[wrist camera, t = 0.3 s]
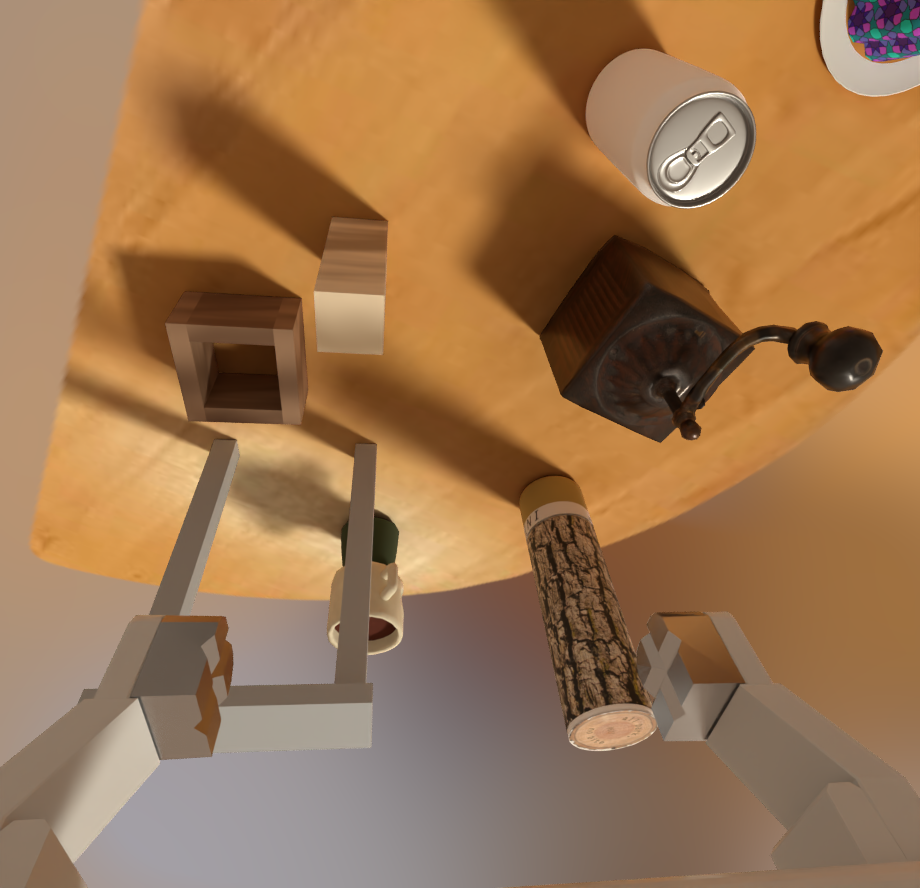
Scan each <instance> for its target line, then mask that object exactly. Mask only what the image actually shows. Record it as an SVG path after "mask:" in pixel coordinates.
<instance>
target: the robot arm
mask: <svg viewBox="0 0 920 888" xmlns="http://www.w3.org/2000/svg"><path fill="white" fill-rule="evenodd" d="M647 627H648V629H649V631H650V633H649V634H648V635H646V636H645V637H643V638H642V639H641V640H640V643H639V646H638V648H637V669H638V674H639V678H640V680H641V683H642V686H643V688H644V689H645V690H647V691H648V692H649V693H650V694H651V695H652V696H653V697H654V701H653V704H652V707H651V709H652V712H653V715H654V717H655V720H656V722H657V725H658V727H659V730H660V733H661V735H662V738H663V740H664V741H706V744H707V745H708V746H709V747H710V749H711V750H712V751H713V752H714V753H715V754H716V755H717V756H718V757H719V758H720V759H721V760H722V761H723V762H724V763H725V764H726V765H727V767H729V769H730V770H731V771H732V772H733V773H734V774H735V775H736V776H737V777H738V778H739V779H740V780H741V781H742V783H743V784H744V785H745V786H746V787H747V788H748V789H749V790H750V791H751V792H752V793H753V794H754V795H755V796H756V797H757V798H758V799H759V801H761V803H762V804H763V805H764V806H765V807H766V808H767V809H768V810H769V811H770V812H771V813H772V814H773V815H774V816H775V818H776V819H777V820H778V821H779V822H780V823H781V824H782V825H783V826H784V827H785V828H786V829H787V830H788V831H787V832H786V833H785V835H784V836H783V837H782V838H781V839H780V840H779V842H778V843H777V844H776V845H775V846H774V848H773V850H772V853H771V857H772V859H773V861H774V864H775V866H776V868H777V870H769V871H768V870H767V871H752V872H737V873H722V874H706V875H690V876H675V877H660V878H644V879H628V880H613V881H598V882H583V883H567V884H552V885H537V886H520V887H505V888H920V798H919V796H918V795H917V793H916V792H915V791H914V789H913V788H912V786H911V785H910V783H909V782H908V780H907V779H906V778H905V777H904V776H902V775H901V774H900V773H899V772H897V771H896V770H895V769H893V768H892V767H891V766H889V765H888V764H887V763H885V762H884V761H883V760H881V759H880V758H879V757H877V756H876V755H875V754H873V753H872V752H871V751H869V750H868V749H867V748H865V747H864V746H863V745H861V744H860V743H859V742H857V741H856V740H855V739H853V738H852V737H851V736H850V735H848V734H847V733H845V732H844V731H843V730H842V729H840V728H839V727H837V726H836V725H835V724H834V723H832V722H831V721H830V720H828V719H827V718H825V717H824V716H823V715H822V714H820V713H819V712H818V711H816V710H815V709H814V708H812V707H811V706H809V705H808V704H807V703H806V702H804V701H803V700H802V699H800V698H799V697H798V696H796V695H795V694H794V693H792V692H791V691H790V690H788V689H787V688H786V687H784V686H783V685H782V684H775V683H773V682H772V681H771V679H770V677H769V675H768V674H767V672H766V670H765V669H764V667H763V665H762V664H761V662H760V661H759V659H758V657H757V656H756V654H755V652H754V650H753V649H752V647H751V645H750V644H749V642H748V640H747V639H746V637H745V635H744V633H743V632H742V630H741V629H740V627H739V625H738V623H737V622H736V620H735V618H734V617H733V616H732V615H731V614H730V613H728V612H662V613H661V612H659V613H654V614H653V615H652V616H650V618H649V620H648V623H647ZM228 629H229V628H228V624H227V619H226V617H224V616H180V615H136V616H135V617H134V618H133V619H132V621H131V622H130V623H129V624H128V626H127V628H126V630H125V632H124V635H123V637H122V639H121V641H120V643H119V645H118V647H117V649H116V652H115V654H114V656H113V658H112V660H111V662H110V664H109V667H108V669H107V671H106V673H105V675H104V677H103V679H102V681H101V684H100V686H99V688H98V690H97V692H96V694H95V696H94V698H93V699H84V700H82V701H81V702H80V703H79V704H78V705H76V706H75V707H74V708H73V709H71V710H70V711H69V712H68V713H67V714H65V715H64V716H63V717H62V718H60V719H59V720H58V721H57V722H55V723H54V724H53V725H52V726H50V727H49V728H48V729H47V730H46V731H44V732H43V733H42V734H41V735H39V736H38V737H37V738H36V739H35V740H33V741H32V742H31V743H30V744H28V745H27V746H26V747H25V748H24V749H22V750H21V751H20V752H19V753H17V754H16V755H15V756H14V757H12V758H11V759H10V760H9V761H7V762H6V763H5V764H4V765H3V766H1V767H0V888H88V887H87V885H86V883H85V882H84V880H83V879H82V877H81V876H80V874H79V872H78V871H77V869H76V867H75V866H74V864H73V863H74V862H75V861H76V860H77V859H78V857H79V856H80V855H81V854H82V853H83V852H84V851H85V850H86V848H87V847H88V846H89V845H90V844H91V843H92V842H93V840H94V839H95V838H96V837H97V836H98V835H99V833H100V832H101V831H102V830H103V829H104V828H105V826H106V825H107V824H108V823H109V822H110V821H111V819H112V818H113V817H114V816H115V815H116V814H117V813H118V811H119V810H120V809H121V808H122V807H123V806H124V805H125V803H126V802H127V801H128V800H129V798H131V796H132V795H133V794H134V793H135V792H136V791H137V790H138V788H139V787H140V786H141V785H142V784H143V783H144V781H145V780H146V779H147V778H148V777H149V776H150V774H151V773H152V772H153V771H154V770H155V769H156V768H157V766H158V765H159V764H160V760H167V759H184V758H200V757H212V754H213V750H214V746H215V743H216V739H217V735H218V731H219V728H220V724H221V716H220V711H219V705H220V704H221V703H222V702H223V701H224V700H225V699H226V698H227V697H228V693H229V689H230V685H231V680H232V671H233V650H232V645H231V644H230V643H229V642H228V641H226V636H227V633H228Z"/></svg>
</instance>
